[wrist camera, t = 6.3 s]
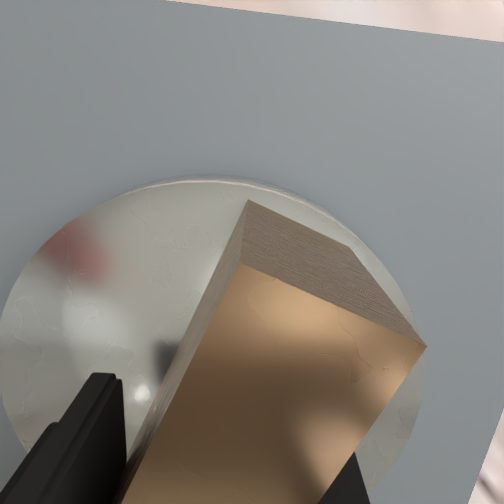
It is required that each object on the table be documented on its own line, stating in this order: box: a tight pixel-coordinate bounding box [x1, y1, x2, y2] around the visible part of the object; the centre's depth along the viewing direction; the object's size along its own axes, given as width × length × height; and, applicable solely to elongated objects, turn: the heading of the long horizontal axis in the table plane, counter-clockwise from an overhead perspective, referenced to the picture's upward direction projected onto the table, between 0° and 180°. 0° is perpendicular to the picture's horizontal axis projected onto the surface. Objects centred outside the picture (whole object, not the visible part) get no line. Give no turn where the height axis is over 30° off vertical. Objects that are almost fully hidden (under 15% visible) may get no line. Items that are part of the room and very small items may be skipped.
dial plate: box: [0, 0, 504, 504], centre depth 15 cm, size 22×22×2 cm
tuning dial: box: [0, 174, 427, 504], centre depth 11 cm, size 18×13×7 cm
